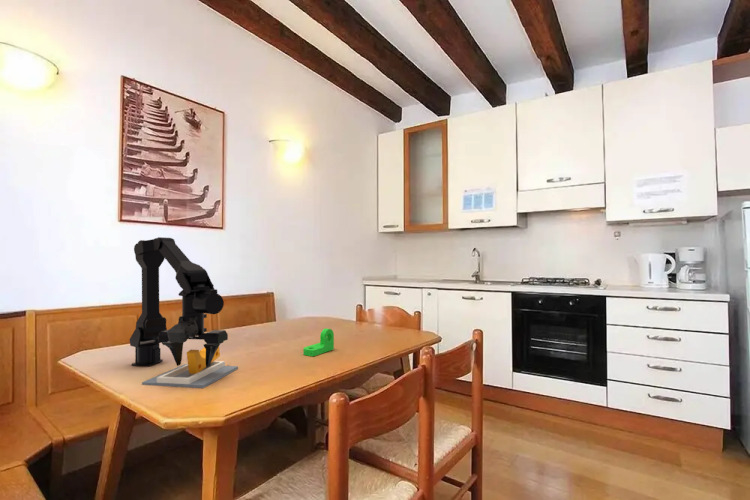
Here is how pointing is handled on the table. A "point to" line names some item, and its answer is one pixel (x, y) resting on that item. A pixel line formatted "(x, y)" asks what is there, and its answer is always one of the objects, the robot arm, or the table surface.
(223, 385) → the table surface
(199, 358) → the pipe clamp
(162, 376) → the jig board
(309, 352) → the mechanical part
